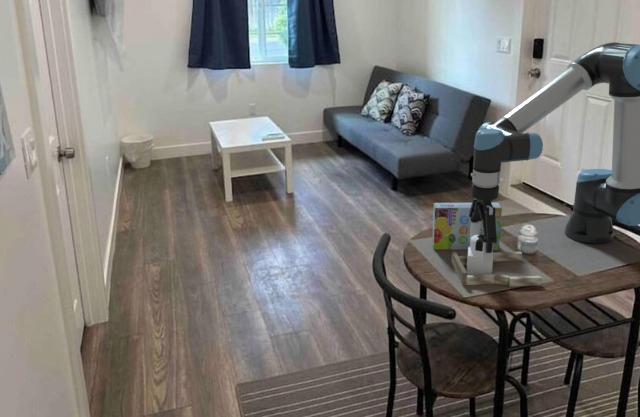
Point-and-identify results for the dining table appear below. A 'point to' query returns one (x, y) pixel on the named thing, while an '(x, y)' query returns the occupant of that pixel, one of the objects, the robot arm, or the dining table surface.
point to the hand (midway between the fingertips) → (480, 251)
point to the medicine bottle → (477, 258)
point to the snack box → (457, 226)
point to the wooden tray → (495, 278)
